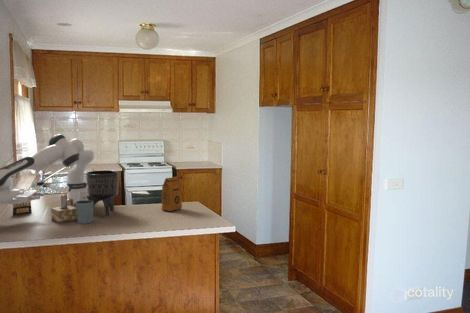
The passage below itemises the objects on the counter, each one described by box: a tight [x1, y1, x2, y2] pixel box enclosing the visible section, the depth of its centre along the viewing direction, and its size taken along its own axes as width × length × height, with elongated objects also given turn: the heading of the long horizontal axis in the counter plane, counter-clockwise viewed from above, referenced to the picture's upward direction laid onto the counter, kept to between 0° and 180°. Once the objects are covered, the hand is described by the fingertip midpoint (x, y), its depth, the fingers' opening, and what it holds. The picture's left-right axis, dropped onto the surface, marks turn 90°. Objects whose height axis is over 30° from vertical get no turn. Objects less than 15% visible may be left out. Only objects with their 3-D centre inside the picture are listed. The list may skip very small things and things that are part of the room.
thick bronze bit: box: [67, 198, 75, 207], centre depth 267 cm, size 6×6×10 cm
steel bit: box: [60, 194, 67, 209], centre depth 254 cm, size 4×4×14 cm
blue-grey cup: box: [74, 200, 94, 224], centre depth 250 cm, size 10×10×12 cm
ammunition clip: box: [12, 200, 33, 216], centre depth 269 cm, size 11×2×12 cm, turn 130°
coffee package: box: [161, 176, 183, 212], centre depth 282 cm, size 10×12×22 cm
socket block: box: [50, 206, 77, 224], centre depth 255 cm, size 11×11×7 cm
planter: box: [85, 169, 120, 217], centre depth 271 cm, size 20×20×26 cm
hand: (42, 196), depth 252 cm, fingers open, 8 cm apart
